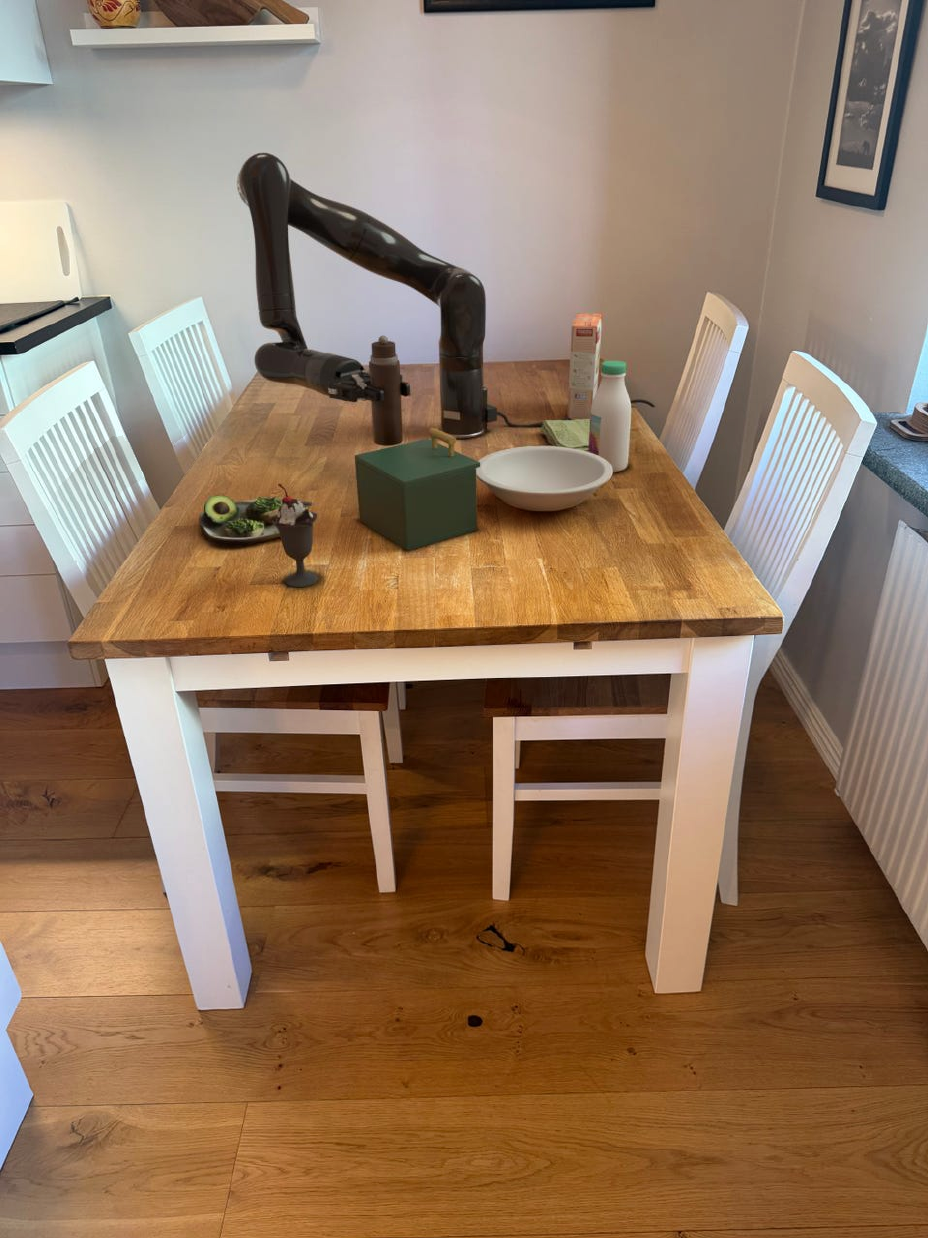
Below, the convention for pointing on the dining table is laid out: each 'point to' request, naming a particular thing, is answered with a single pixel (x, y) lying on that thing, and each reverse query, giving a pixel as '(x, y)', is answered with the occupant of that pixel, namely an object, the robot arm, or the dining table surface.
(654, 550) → the dining table surface
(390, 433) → the pepper mill
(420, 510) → the bin
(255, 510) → the salad plate
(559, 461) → the soup bowl
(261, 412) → the dining table surface
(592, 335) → the cracker box
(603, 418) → the milk bottle
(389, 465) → the bin lid
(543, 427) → the washcloth
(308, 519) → the sundae
